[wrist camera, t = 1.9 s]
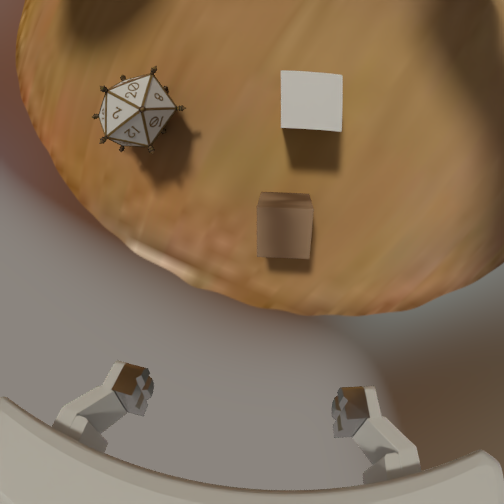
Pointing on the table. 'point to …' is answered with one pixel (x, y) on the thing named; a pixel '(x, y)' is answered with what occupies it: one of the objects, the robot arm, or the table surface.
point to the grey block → (311, 100)
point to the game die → (135, 111)
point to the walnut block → (284, 225)
